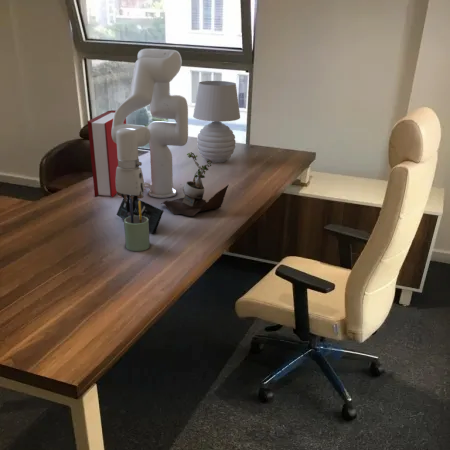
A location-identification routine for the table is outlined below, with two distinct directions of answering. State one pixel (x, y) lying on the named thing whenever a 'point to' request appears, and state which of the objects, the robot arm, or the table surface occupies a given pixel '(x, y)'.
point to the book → (103, 154)
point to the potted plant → (195, 195)
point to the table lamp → (216, 119)
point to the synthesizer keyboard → (143, 213)
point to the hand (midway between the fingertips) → (131, 211)
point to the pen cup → (136, 230)
